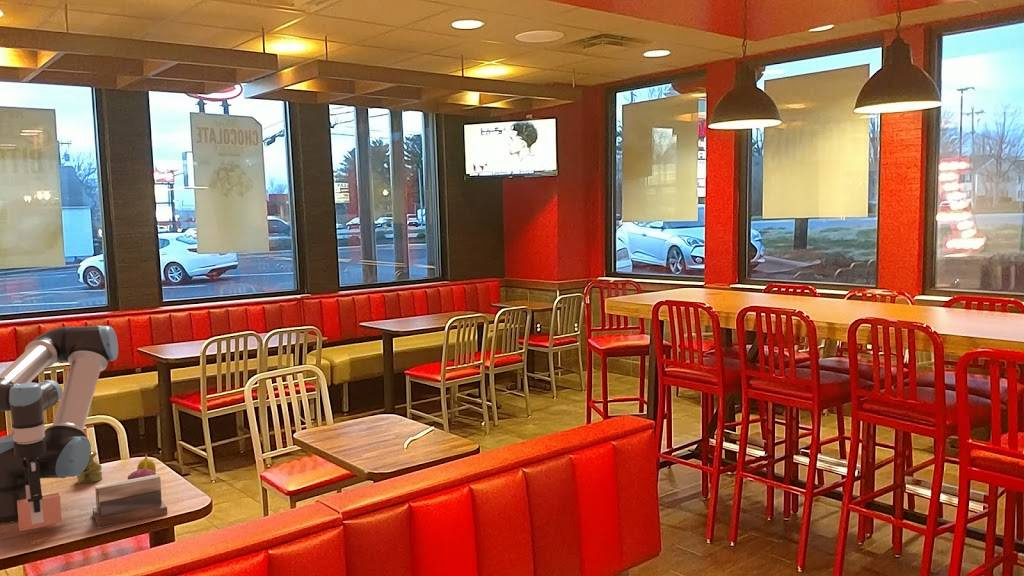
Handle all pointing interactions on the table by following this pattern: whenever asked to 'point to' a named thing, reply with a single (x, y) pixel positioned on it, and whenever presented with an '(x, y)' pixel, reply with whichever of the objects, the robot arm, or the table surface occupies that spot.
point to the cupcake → (142, 472)
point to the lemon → (149, 465)
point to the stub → (49, 512)
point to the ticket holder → (128, 501)
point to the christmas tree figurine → (90, 471)
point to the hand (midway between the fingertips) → (35, 514)
